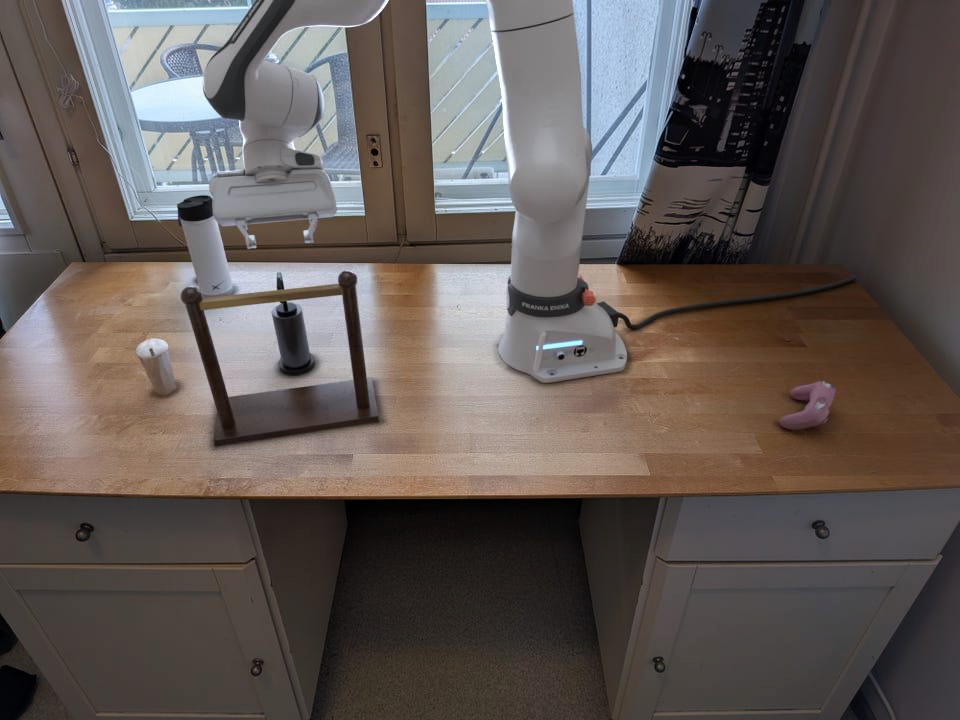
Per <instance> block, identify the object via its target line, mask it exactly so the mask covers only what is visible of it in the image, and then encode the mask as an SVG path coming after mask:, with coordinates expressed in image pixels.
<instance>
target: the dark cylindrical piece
mask: <svg viewBox="0 0 960 720" xmlns="http://www.w3.org/2000/svg"><path fill="white" fill-rule="evenodd" d="M283 289H285V283H284V279H283V273H282V272H281V271H278V272H277V273H276V290H283ZM279 303H280V304H278V305H276V306H275V307H273V308H272V310H271V317H272V323H273V326H274V331H275V336H276V341H277V346H278V351H279V355H280V358H279V360H278V363H277V364H278V369H279V372H281V373H282V374H283V375H286V376H294V377H296V376H303V375H305V374H307V373H309V372H311V371H312V370H313V369H314V368H315V366H316V359H315V356H314V354H313V353H311V352H310V347H309V340H308V335H307V329H306V323H305V318H304V312H303V307H302V306H301V305H300V304H298V303H294V302H291V301H282V302H279Z"/></svg>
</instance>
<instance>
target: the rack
mask: <svg viewBox="0 0 960 720" xmlns="http://www.w3.org/2000/svg"><path fill="white" fill-rule="evenodd" d="M357 284H358V276H357V274H356V273H355V272H354V271H352V270H349V269H347V270H346V269H345V270H343V271H341V272H340V273H339V275H338V277H337V283H331V284H322V285H312V286H303V287H294V288H293V287H292V288H284V289H283V290H277V289H274V290H266V291H256V292H248V293H247V292H246V293H237V294H230V295H227V296H218V297H208V298H203V297H202V293H201V291H200V288H199V287H196V286H193V285H190V286H186V287H185V288H183V289H182V290H181V292H180V300H181V302H182V303H183V304H184V305H185V308H186V312H187V314H188V315H187V316H188V318H189V321H190V325H191V328H192V332H193V336H194V339H195V342H196V345H197V348H198V349H197V350H198V352H199V356H200V359H201V362H202V366H203V368H204V372H205V375H206V378H207V379H206V380H207V382H208V386H209V389H210V392H211V395H212V399H213V402H214V405H215V406H214V407H215V410H216V415H215V423H214V430H213V437H212V442H213V445H214V447H219V446H225V445H233V444H239V443H245V442H246V443H247V442H253V441H260V440H266V439H267V440H268V439H272V438H280V437H286V436H293V435H301V434H306V433H313V432H321V431H327V430H334V429H339V428H347V427H353V426H359V425H367V424H373V423H379V422H380V418H379V417H380V416H379V411H378V406H377V405H378V404H377V400H376V393H375V389H374V383H373V378H372V377H367V367H366V360H365V351H364V343H363V335H362V325H361V318H360V309H359V302H358V301H359V300H358V292H357V291H358V290H357ZM336 296H341V297H342V302H343V303H342V305H343V311H344V319H345V328H346V333H347V334H346V335H347V342H348V350H349V356H350V363H351V364H350V365H351V373H352V378H353V379H351V380H344V381H336V382H329V383H320V384H314V385H307V386H300V387H292V388H291V387H290V388H283V389H278V390H277V389H276V390H269V391H262V392H255V393H254V392H253V393H248V394H240V395H233V396H229V394H228V391H227V387H226V384H225V380H224V376H223V373H222V369H221V366H220V363H219V362H220V361H219V359H218V354H217V351H216V347H215V344H214V341H213V337H212V333H211V329H210V326H209V323H208V319H207V316H206V312H205V311H209V310H216V309H227V308H235V307H245V306H254V305H262V304H271V303H280V302H282V301H287V302H291V301H300V300H309V299H316V298H326V297H336Z"/></svg>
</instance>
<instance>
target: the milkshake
mask: <svg viewBox="0 0 960 720" xmlns="http://www.w3.org/2000/svg"><path fill="white" fill-rule="evenodd" d="M135 354H136V355H137V357H138V359H139V362H140V363H141V365H142V367H143V370H144V371H145V373H146V376H147V377H148V379H149V382H150V384H151V386H152V388H153V390H154V393H155V394H156V395H159V396H168V395H170V394H172V393H174V392H175V391H176V390H177V388H178V386H177V383H176V379H175V373H174V369H173V367H172V359H171V355H170V349H169V345H168V343H167V341H165V340H163V339H161V338H155V337H153V338H149V339H145V340H144V341H142V342H140V343H139V344H138V345H137V347H136V349H135Z"/></svg>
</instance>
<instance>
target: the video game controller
mask: <svg viewBox="0 0 960 720" xmlns="http://www.w3.org/2000/svg"><path fill="white" fill-rule="evenodd" d="M836 392H837V389H836V388H835V387H834V386H833V385H832V384H830V383H827V382H825V380H823V381H816V382H813V383H809V384H804V385H799V386H796V387H794V388H792V390H791V391H790V396H791V398H792V399H794V400H796V401H804V402H807V401H809V402H808V403H807V404H806V405H805V407H804V409H803V410H801V411H799V412H795V413H790V414H786V415H784V416H782V417H781V418H780V420H779V424H780V426H781V428H784V429H787V430H792V431H798V430H804V429H808V428H811V427H812V428H813V427H817V426H819V425H823V424H826V423H827V421H828V416H829V414H830V407H831V405H832V403H833V401H834V399H835V394H836Z"/></svg>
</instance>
